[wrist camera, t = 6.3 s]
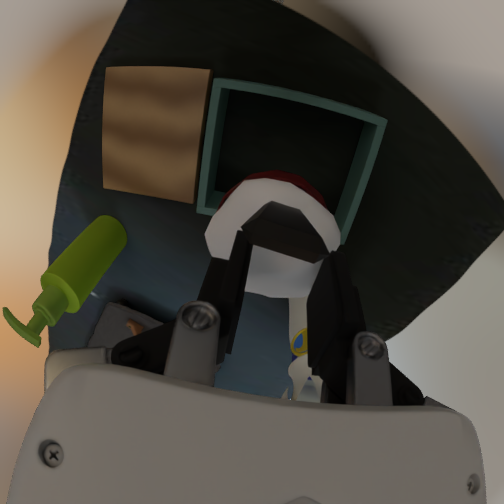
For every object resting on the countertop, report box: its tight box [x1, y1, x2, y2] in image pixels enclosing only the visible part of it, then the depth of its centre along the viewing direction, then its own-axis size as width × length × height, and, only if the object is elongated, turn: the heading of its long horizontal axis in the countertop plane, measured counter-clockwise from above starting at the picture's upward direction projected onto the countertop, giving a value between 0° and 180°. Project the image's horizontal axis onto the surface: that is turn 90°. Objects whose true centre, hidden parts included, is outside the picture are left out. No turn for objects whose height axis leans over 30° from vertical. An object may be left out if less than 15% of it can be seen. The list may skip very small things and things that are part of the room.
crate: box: [197, 78, 387, 245], centre depth 27 cm, size 14×16×4 cm
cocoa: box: [205, 170, 341, 298], centre depth 13 cm, size 10×6×12 cm, turn 146°
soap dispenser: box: [3, 215, 127, 348], centre depth 29 cm, size 6×7×20 cm
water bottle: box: [281, 295, 323, 403], centre depth 29 cm, size 8×9×25 cm
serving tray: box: [88, 298, 221, 373], centre depth 53 cm, size 39×23×6 cm, turn 143°
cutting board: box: [102, 66, 214, 204], centre depth 28 cm, size 15×12×2 cm
